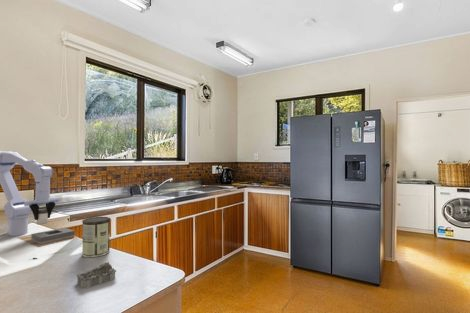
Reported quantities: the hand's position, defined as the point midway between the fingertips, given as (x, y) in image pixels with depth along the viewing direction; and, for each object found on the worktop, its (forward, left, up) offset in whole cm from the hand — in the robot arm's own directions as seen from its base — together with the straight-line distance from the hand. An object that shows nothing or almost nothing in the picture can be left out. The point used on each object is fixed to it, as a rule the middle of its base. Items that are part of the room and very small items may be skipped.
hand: (42, 218), depth 131 cm
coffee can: (+42, +4, -10) cm, 43 cm away
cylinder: (0, 0, -2) cm, 2 cm away
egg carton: (+66, -10, -10) cm, 67 cm away
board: (+6, +1, -9) cm, 11 cm away
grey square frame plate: (+10, +1, -8) cm, 13 cm away
